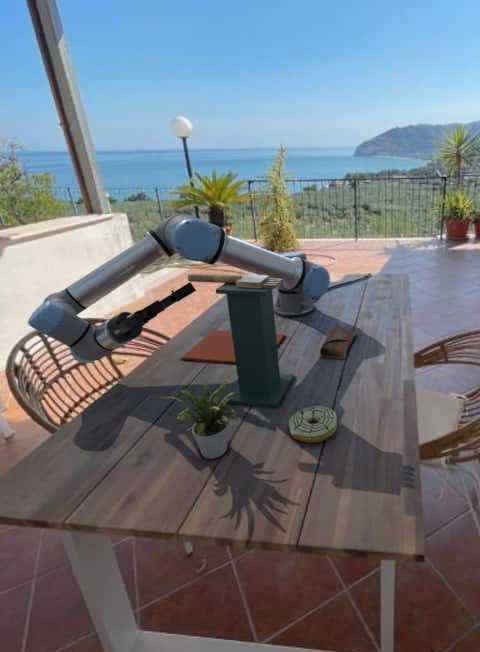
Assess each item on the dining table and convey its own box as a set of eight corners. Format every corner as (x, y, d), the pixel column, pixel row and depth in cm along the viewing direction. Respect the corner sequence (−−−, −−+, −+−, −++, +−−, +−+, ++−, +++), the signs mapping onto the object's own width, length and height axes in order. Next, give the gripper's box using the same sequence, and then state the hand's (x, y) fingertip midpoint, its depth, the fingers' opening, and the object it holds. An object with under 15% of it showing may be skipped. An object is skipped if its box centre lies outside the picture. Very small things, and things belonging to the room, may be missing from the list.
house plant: (170, 488, 72) (153, 416, 67) (171, 441, 84) (157, 376, 78) (248, 465, 78) (239, 396, 72) (239, 424, 90) (230, 362, 84)
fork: (196, 277, 97) (195, 270, 96) (283, 281, 94) (283, 273, 93) (184, 284, 92) (182, 276, 91) (275, 288, 89) (275, 280, 88)
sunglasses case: (347, 358, 117) (335, 340, 116) (328, 366, 120) (316, 349, 118) (358, 333, 134) (348, 317, 132) (341, 341, 136) (331, 325, 135)
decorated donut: (293, 415, 93) (292, 402, 91) (338, 415, 92) (338, 402, 91) (285, 446, 83) (284, 431, 81) (336, 446, 83) (335, 431, 81)
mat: (213, 332, 136) (213, 329, 136) (285, 336, 133) (284, 334, 133) (181, 359, 118) (181, 357, 118) (263, 365, 115) (263, 363, 114)
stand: (246, 373, 110) (234, 274, 100) (294, 377, 108) (286, 276, 98) (223, 402, 97) (206, 292, 87) (277, 407, 96) (266, 295, 85)
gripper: (158, 322, 115) (211, 291, 109) (93, 365, 92) (155, 328, 86) (142, 301, 113) (195, 268, 107) (71, 339, 90) (133, 300, 84)
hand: (177, 295), depth 96 cm, fingers open, 13 cm apart
